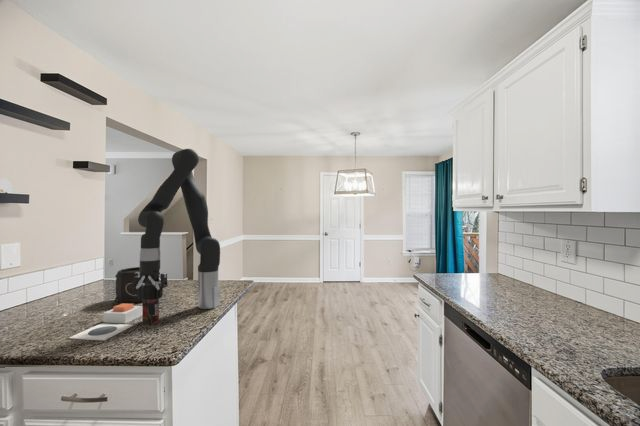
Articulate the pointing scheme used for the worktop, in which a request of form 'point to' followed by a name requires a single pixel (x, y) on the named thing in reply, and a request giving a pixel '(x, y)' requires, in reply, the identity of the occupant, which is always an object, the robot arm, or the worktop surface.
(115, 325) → the white flat square slab
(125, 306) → the button
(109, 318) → the button housing
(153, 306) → the deodorant
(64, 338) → the worktop surface
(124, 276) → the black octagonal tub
